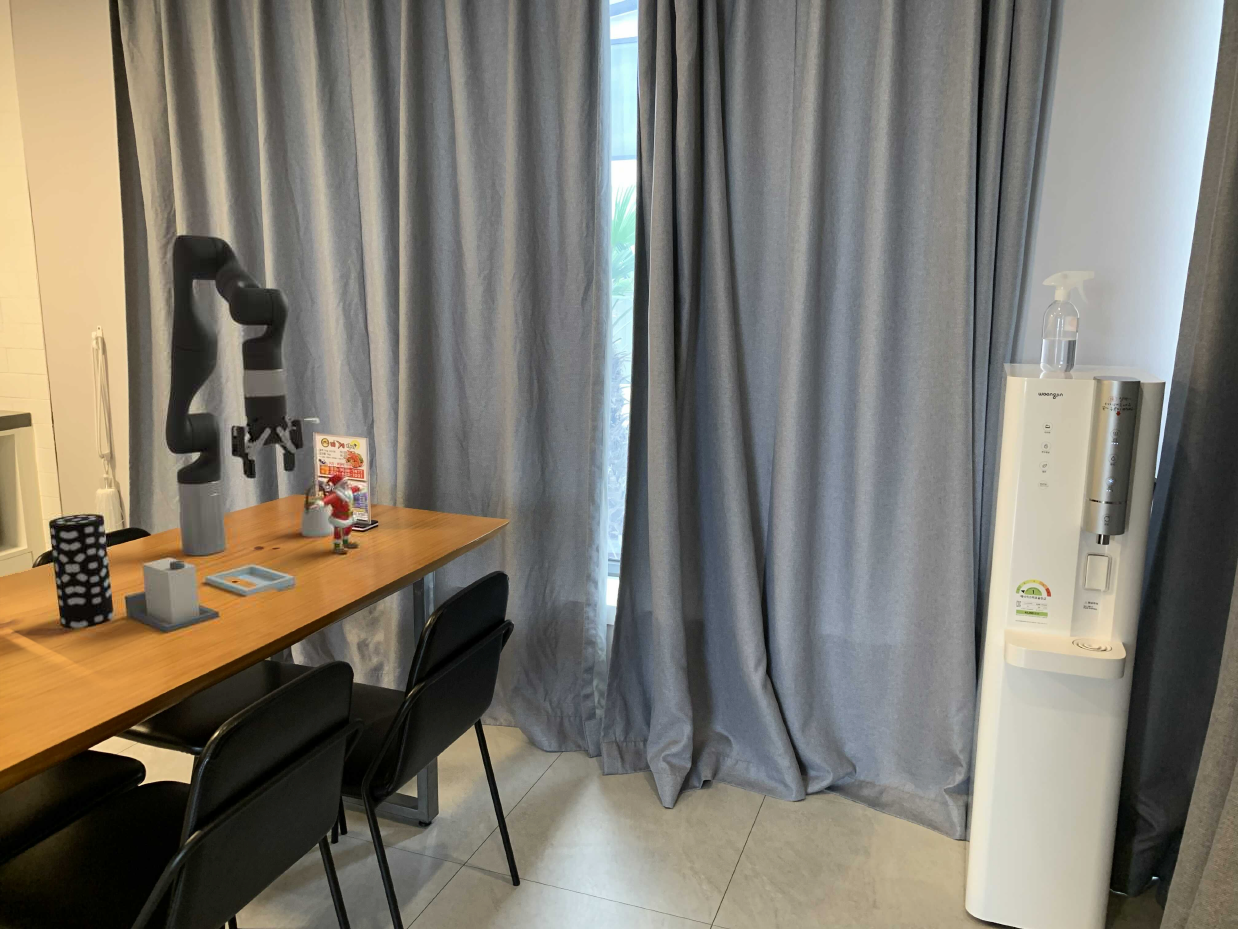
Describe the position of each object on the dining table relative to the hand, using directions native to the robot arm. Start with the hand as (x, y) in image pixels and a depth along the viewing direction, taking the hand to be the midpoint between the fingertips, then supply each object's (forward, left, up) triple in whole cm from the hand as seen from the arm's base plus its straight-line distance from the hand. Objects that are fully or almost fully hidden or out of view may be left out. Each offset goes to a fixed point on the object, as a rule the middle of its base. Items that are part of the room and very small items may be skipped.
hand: (270, 474), depth 166 cm
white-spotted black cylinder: (-14, -30, -26) cm, 42 cm away
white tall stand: (-35, +35, -26) cm, 56 cm away
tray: (-10, 0, -25) cm, 27 cm away
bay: (-3, -20, -25) cm, 32 cm away
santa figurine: (-17, +29, -26) cm, 43 cm away
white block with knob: (-3, -20, -24) cm, 31 cm away
